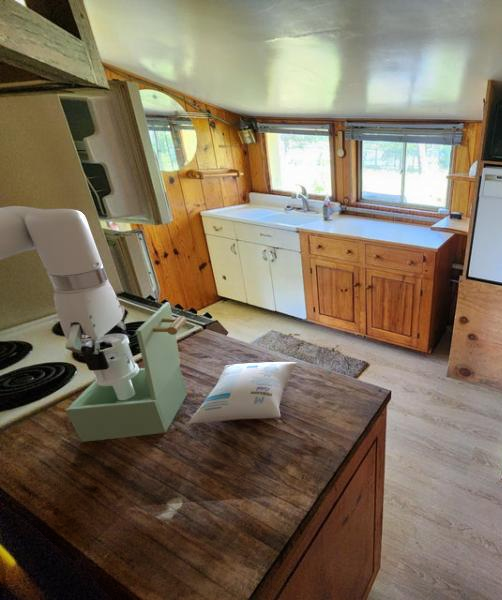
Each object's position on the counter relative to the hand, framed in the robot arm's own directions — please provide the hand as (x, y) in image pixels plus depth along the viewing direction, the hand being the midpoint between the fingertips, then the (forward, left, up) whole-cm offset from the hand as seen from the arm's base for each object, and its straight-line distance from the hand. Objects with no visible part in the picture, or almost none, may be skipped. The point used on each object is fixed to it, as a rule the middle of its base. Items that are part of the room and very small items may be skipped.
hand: (111, 357), depth 67 cm
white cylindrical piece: (0, 0, -10) cm, 10 cm away
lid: (+9, 0, +1) cm, 9 cm away
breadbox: (+1, 0, -16) cm, 16 cm away
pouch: (+25, +1, -16) cm, 30 cm away
